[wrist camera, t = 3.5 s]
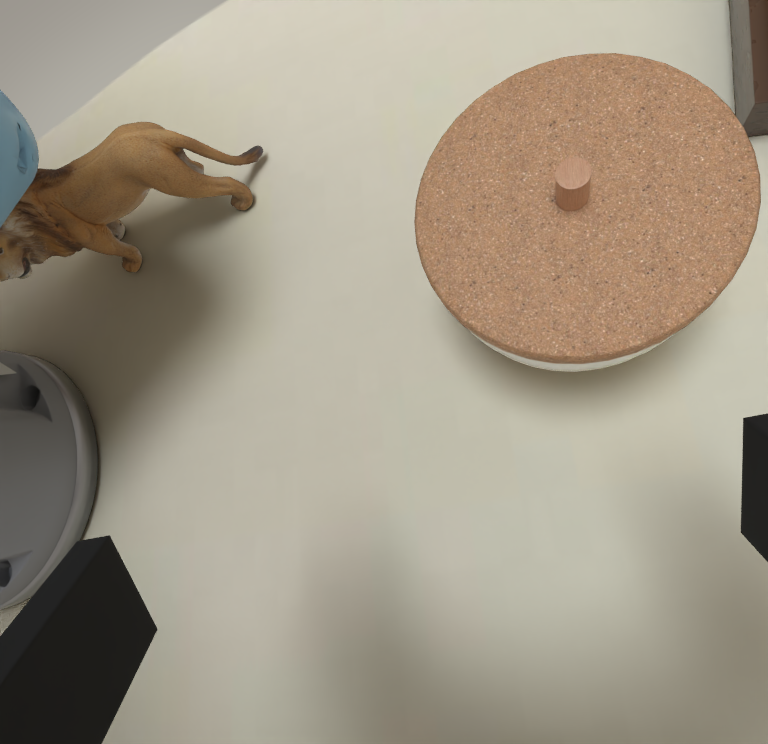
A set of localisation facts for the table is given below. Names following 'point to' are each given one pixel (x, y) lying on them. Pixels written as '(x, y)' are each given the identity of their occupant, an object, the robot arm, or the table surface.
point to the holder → (750, 63)
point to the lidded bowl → (587, 210)
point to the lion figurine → (109, 196)
